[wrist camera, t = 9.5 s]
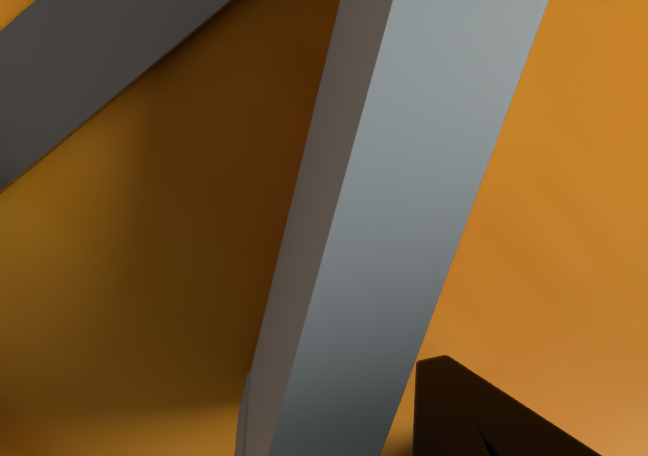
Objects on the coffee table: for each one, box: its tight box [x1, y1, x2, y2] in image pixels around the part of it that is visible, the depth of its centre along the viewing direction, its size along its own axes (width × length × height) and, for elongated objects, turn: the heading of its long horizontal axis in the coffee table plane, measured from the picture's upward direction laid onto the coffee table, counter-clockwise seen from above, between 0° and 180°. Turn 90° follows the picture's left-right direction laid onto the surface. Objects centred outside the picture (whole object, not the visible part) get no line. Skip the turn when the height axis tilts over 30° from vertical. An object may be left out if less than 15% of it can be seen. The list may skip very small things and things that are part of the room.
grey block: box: [235, 0, 548, 456], centre depth 7 cm, size 12×2×5 cm, turn 165°
